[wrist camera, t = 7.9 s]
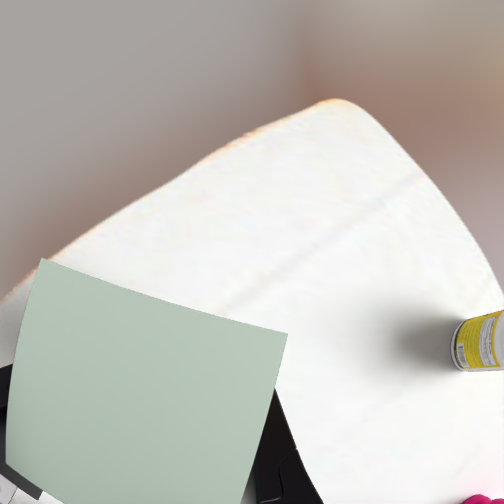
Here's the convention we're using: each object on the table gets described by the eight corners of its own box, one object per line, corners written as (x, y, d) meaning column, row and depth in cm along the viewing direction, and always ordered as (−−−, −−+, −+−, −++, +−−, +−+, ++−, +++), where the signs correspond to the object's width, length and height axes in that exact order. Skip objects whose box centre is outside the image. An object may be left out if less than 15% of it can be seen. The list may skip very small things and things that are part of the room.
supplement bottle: (487, 331, 23) (554, 316, 14) (473, 378, 22) (542, 376, 12) (458, 310, 24) (529, 288, 15) (441, 360, 22) (516, 355, 13)
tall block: (231, 426, 15) (219, 560, 3) (146, 400, 15) (6, 463, 3) (252, 344, 16) (288, 333, 5) (167, 320, 16) (41, 257, 5)
